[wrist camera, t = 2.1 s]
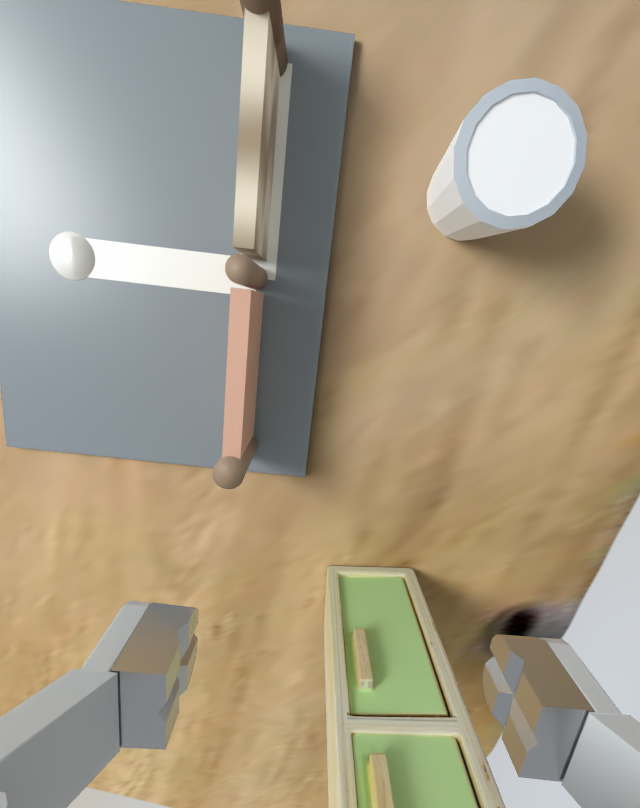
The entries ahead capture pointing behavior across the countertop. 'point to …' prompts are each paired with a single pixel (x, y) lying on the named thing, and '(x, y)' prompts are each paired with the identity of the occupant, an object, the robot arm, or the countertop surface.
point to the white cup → (509, 162)
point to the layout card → (155, 230)
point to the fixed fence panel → (258, 124)
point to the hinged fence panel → (241, 370)
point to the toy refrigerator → (395, 700)
